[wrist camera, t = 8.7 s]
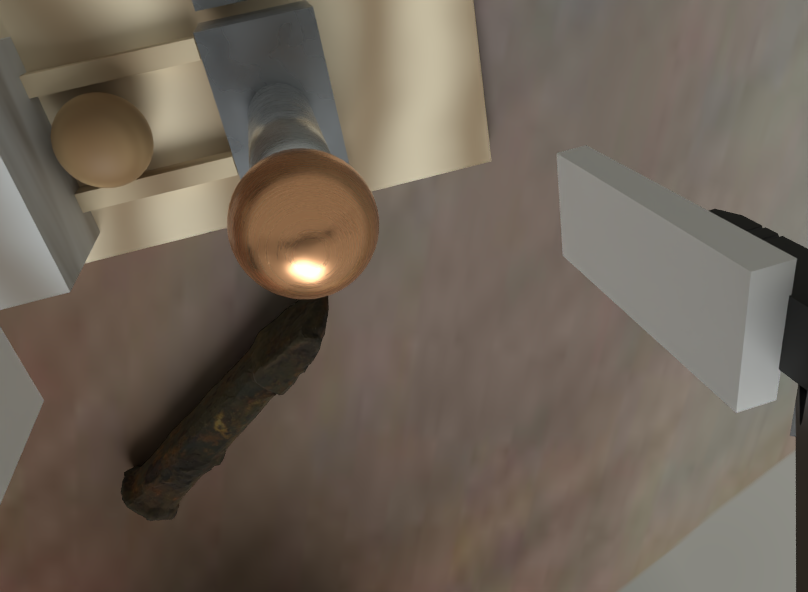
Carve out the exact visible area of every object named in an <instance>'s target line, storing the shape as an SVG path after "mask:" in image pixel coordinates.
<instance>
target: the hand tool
mask: <svg viewBox="0 0 808 592" xmlns="http://www.w3.org/2000/svg"><path fill="white" fill-rule="evenodd" d="M328 310H329V306H328V296H325V297H321V298H316V299H301V300H300V301H298V302H297V303H295V304H294V305H293V306H291V307H290V308H288V309H287V310H285V311H284V312H283V313H282V314H281V315H280V316H279V317H278V318H277V319H276V320H274V321H273V322H271V323H270V324H269V325H268V326H266V327H265V328H264V329H263V330H261V331H260V332H259V333H258V335H257V337H256V338H255V341H254V344H253V345H252V347H251V348H250V350H249V351H248V352H247V353H246V354H245V355H244V356H243V357H242V359H241V360H240V361H239V362H238V363H237V364H236V365H235V366H234V367H233V368H232V369H231V370H230V371H229V372H228V373H227V374H226V375H225V376H224V377H223V378H222V379H221V381H220V382H219V383H218V384H216V385H215V386H214V387H213V388H212V389H211V390H210V391H209V392H208V393H207V394H206V396H205V397H204V399H203V400H202V401H201V402H200V403H199V404H198V406H197V407H196V408H195V409H194V410H193V411H192V412H191V413H190V414H189V415H188V416H187V417H186V418H185V419H184V420H183V421H182V422H181V423H180V424H179V425H178V426H177V427H176V428H175V429H174V430H173V431H171V432H170V434H169V435H168V437H167V439H166V440H165V441H164V442H163V443H162V444H161V446H160V447H159V448H158V449H157V450H156V451H155V453H154V454H153V455H152V456H151V457H150V459H149V460H148V461H146V462H145V463H144V464H143V465H142V466H141V467H139V466H136V467H134V468H132V469H129V470H128V471H126V472H125V473H124V475H125V477H124V479H123V482H122V488H121V494H122V500H123V501H124V503H125V504H126V506H127V507H128V508H129V509H131V510H132V511H134V512H136V513H137V514H139V515H142V516H143V517H145V518H146V519H147V520H150V521H153V520H170V519H173V518H174V517H175V516H176V513H177V510H178V507H179V503H180V501H181V499H182V497H183V496H184V495H185V494H186V493H187V492H188V491H189V490H190V488H191V487H192V486H193V485H194V484H195V483H196V482H197V480H198V479H199V478H200V477H201V476H202V475H203V474H205V473H206V472H208V471H210V470H211V469H212V468H213V467H214V466H216V465H220V464H221V462H222V461H223V459H224V456H225V452H226V449H227V448H228V447H229V446H230V444H231V443H232V442H233V441H234V440H235V439H236V438H237V437H238V436H239V434H240V433H241V432H242V431H243V430H244V429H245V428H246V427H247V426H248V424H249V423H250V422H251V421H252V420H253V419H254V418H255V417H256V416H257V415H258V413H259V412H260V411H261V410H262V409H263V408H264V406H265V405H266V404H267V403H268V402H269V401H270V399H271V398H272V397H273V396H275V395H276V394H278V395H283V394H284V393H285V392H286V391H287V390H288V389H289V388H290V387H291V386H292V385H293V384H294V383H295V381H296V380H297V378H298V376H299V375H300V374H301V373H303V372H305V371H306V369H307V367H308V365H309V364H311V362H312V361H313V360H314V358H315V357H316V355H317V353H318V351H319V349H320V346H321V342H322V338H323V336H324V335H325V328H326V322H327V316H328Z"/></svg>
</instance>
